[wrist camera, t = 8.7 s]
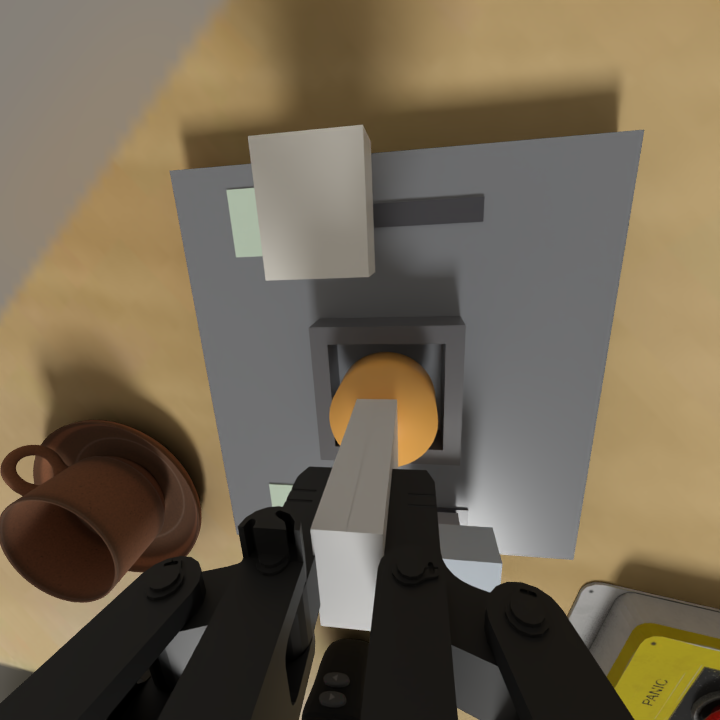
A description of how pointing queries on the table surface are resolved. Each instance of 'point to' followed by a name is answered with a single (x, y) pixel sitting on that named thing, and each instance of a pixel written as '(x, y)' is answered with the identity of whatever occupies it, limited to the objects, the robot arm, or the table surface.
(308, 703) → the controller
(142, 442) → the cup and saucer
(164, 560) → the robot arm
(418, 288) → the control panel
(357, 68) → the table surface
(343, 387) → the amber button
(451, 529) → the slate lever
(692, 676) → the emergency button
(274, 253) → the off-white rectangular box
